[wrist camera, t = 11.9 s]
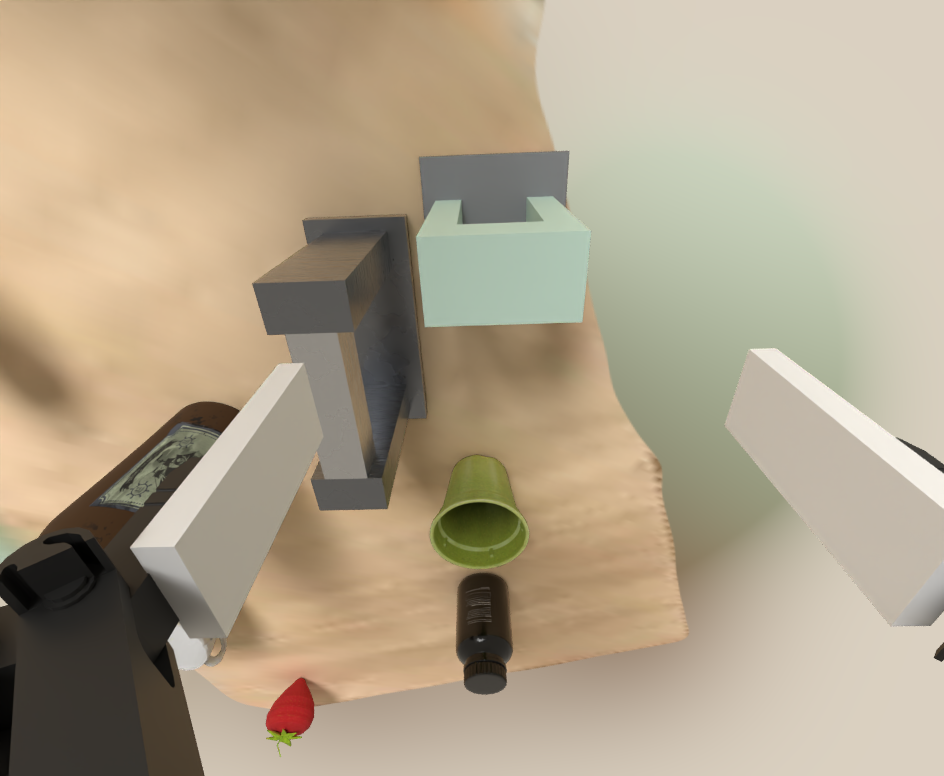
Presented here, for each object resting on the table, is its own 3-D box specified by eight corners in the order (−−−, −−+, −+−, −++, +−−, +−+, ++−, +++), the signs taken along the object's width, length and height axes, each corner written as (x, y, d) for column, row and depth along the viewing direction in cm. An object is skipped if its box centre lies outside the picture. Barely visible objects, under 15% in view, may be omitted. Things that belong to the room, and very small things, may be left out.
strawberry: (331, 682, 72) (312, 758, 64) (293, 691, 74) (269, 766, 65) (311, 665, 69) (288, 741, 61) (272, 674, 71) (244, 750, 62)
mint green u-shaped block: (435, 200, 34) (415, 237, 23) (552, 196, 34) (591, 230, 22) (440, 265, 36) (424, 327, 25) (549, 261, 36) (582, 322, 25)
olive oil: (246, 490, 50) (75, 761, 29) (153, 442, 47) (-120, 710, 25) (290, 432, 46) (128, 700, 25) (191, 376, 43) (-97, 629, 21)
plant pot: (419, 466, 48) (409, 527, 41) (491, 427, 46) (494, 485, 38) (467, 516, 52) (466, 581, 45) (536, 482, 49) (547, 546, 42)
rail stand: (306, 218, 35) (218, 265, 23) (406, 214, 35) (369, 260, 23) (349, 414, 45) (302, 520, 33) (427, 412, 45) (409, 518, 33)
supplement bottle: (450, 596, 60) (445, 693, 50) (467, 565, 57) (466, 663, 47) (496, 607, 61) (501, 704, 51) (516, 578, 58) (525, 675, 48)
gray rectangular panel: (420, 156, 33) (419, 157, 32) (567, 150, 33) (569, 151, 32) (432, 298, 38) (431, 300, 38) (558, 294, 38) (559, 296, 38)
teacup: (121, 577, 59) (74, 637, 52) (183, 544, 55) (142, 603, 48) (210, 632, 65) (178, 692, 58) (271, 605, 62) (245, 666, 55)
